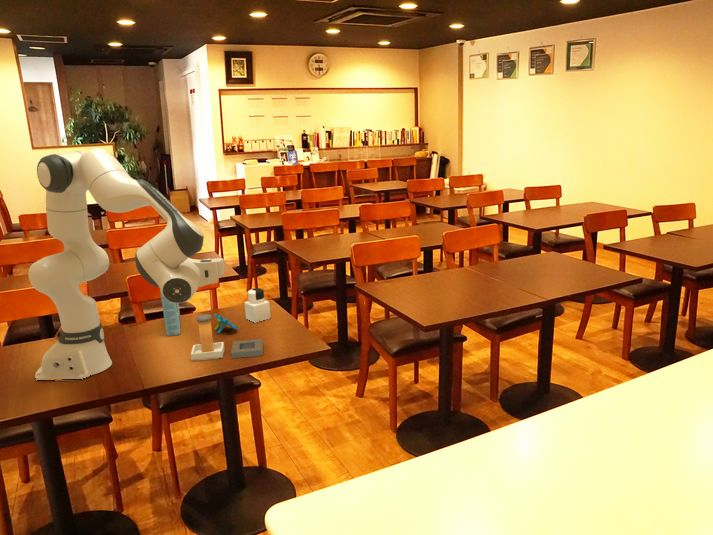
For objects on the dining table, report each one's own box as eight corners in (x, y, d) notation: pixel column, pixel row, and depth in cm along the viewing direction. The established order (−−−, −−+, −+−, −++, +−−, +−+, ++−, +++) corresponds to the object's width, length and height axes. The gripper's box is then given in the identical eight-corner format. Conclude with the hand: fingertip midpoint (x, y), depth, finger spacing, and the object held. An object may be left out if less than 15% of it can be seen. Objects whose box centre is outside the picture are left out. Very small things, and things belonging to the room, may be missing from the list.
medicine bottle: (261, 314, 233) (258, 285, 230) (271, 319, 227) (268, 289, 224) (245, 319, 228) (242, 289, 225) (255, 323, 223) (252, 293, 220)
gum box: (180, 334, 215) (172, 275, 209) (165, 336, 214) (157, 276, 208) (180, 317, 234) (173, 262, 227) (167, 319, 232) (159, 263, 226)
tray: (191, 361, 192) (190, 354, 191) (194, 351, 199) (193, 344, 199) (222, 358, 193) (221, 351, 192) (224, 348, 201) (223, 342, 200)
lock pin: (200, 356, 193) (195, 319, 190) (201, 351, 198) (197, 314, 195) (214, 355, 194) (210, 318, 191) (216, 349, 199) (211, 313, 195)
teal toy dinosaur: (242, 328, 214) (221, 314, 209) (233, 342, 213) (211, 328, 208) (232, 324, 224) (211, 310, 219) (223, 337, 222) (202, 323, 217)
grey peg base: (231, 358, 192) (231, 352, 192) (233, 346, 202) (233, 341, 201) (262, 355, 194) (262, 349, 193) (262, 344, 203) (262, 338, 203)
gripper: (148, 288, 163) (157, 275, 176) (223, 282, 165) (226, 269, 178) (145, 266, 161) (154, 254, 174) (221, 260, 164) (224, 249, 177)
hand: (191, 262), depth 176 cm, fingers open, 8 cm apart
